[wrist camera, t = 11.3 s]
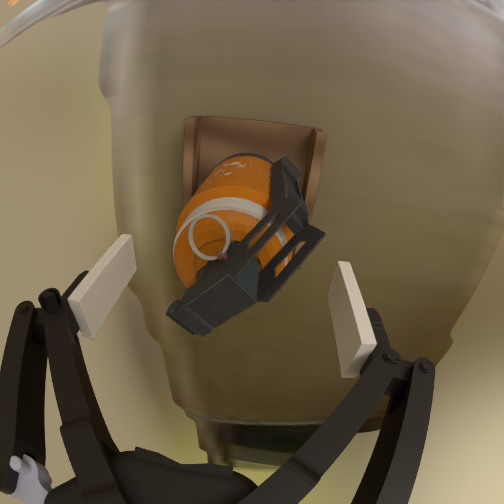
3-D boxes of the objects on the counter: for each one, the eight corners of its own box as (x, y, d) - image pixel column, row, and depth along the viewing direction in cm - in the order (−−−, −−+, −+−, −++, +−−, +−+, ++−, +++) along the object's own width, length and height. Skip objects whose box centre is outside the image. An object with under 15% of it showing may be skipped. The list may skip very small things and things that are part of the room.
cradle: (195, 115, 28) (185, 118, 25) (320, 129, 28) (326, 133, 25) (191, 238, 37) (183, 254, 33) (297, 251, 37) (299, 269, 33)
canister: (193, 186, 32) (111, 297, 15) (265, 123, 28) (252, 164, 10) (245, 238, 35) (219, 377, 18) (317, 183, 31) (367, 301, 14)
